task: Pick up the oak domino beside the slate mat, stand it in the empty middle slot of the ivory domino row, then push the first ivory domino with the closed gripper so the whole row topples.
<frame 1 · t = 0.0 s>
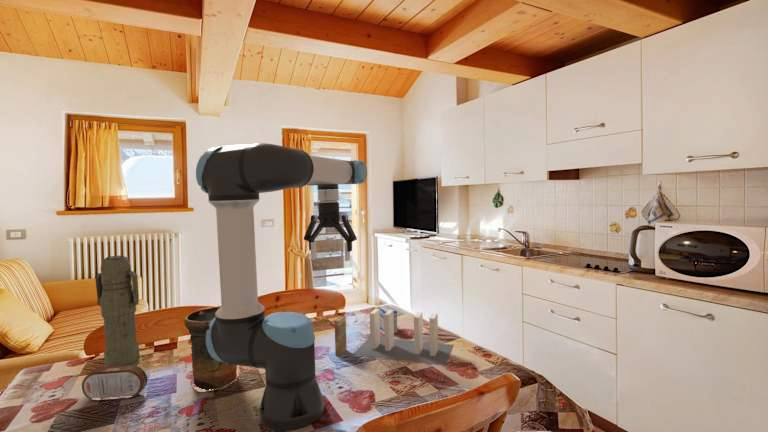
hand: (330, 259, 145), 28 cm above the table, fingers open, 13 cm apart
vessel: (216, 381, 113), on the table
mat: (404, 350, 130), on the table
medicine box: (387, 331, 149), on the table
tin: (115, 399, 105), on the table
domino 5: (434, 352, 127), resting on mat
domino 4: (418, 351, 129), resting on mat
stone statue: (123, 369, 122), on the table
domino 2: (389, 347, 132), resting on mat
oak domino: (341, 354, 129), on the table
domino 1: (375, 346, 133), resting on mat
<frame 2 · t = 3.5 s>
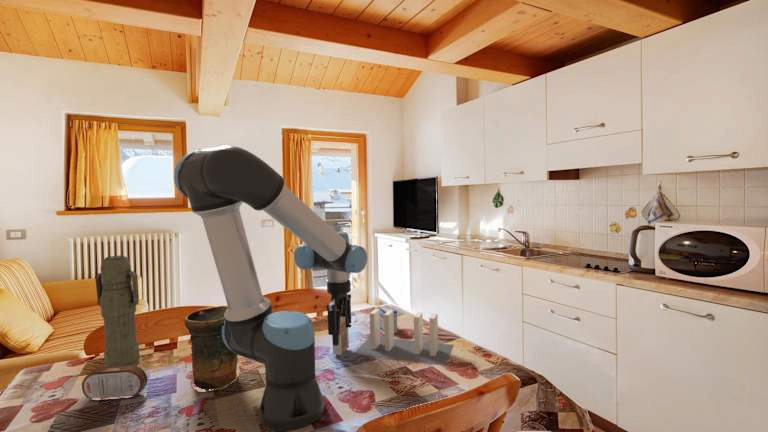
hand: (341, 350, 129), 1 cm above the table, fingers closed on oak domino, 5 cm apart
oak domino: (341, 354, 129), on the table, touching gripper
everything else where it was.
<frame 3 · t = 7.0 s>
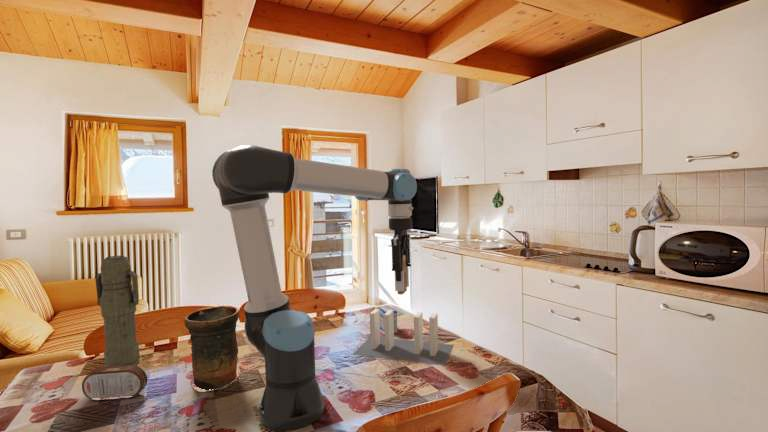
hand: (402, 288, 129), 21 cm above the table, fingers closed on oak domino, 5 cm apart
oak domino: (402, 292, 129), point 20 cm above the table, touching gripper
everything else where it was.
when the fingers open (3 cm above the table, at t = 10.7 s): oak domino stays where it is, resting on mat.
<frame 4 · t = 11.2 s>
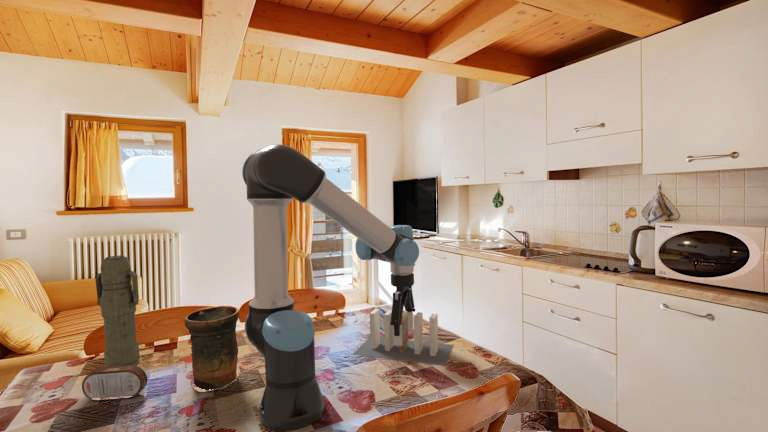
hand: (403, 337, 130), 4 cm above the table, fingers open, 12 cm apart
oak domino: (404, 349, 130), resting on mat
everything else where it was.
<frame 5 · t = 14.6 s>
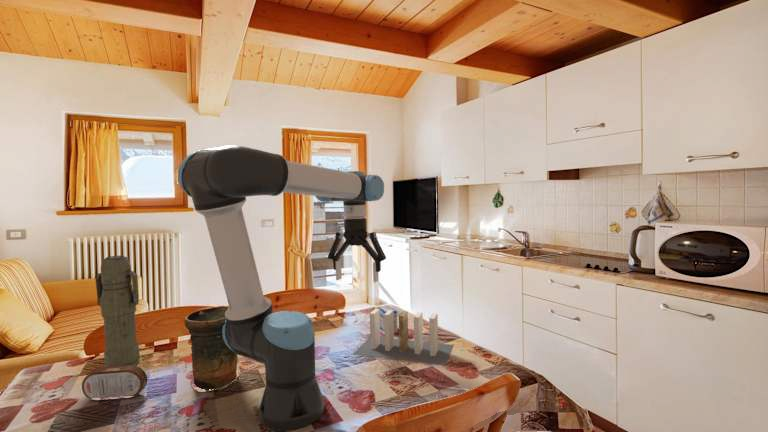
hand: (357, 280, 134), 23 cm above the table, fingers open, 13 cm apart
nothing on the table moved.
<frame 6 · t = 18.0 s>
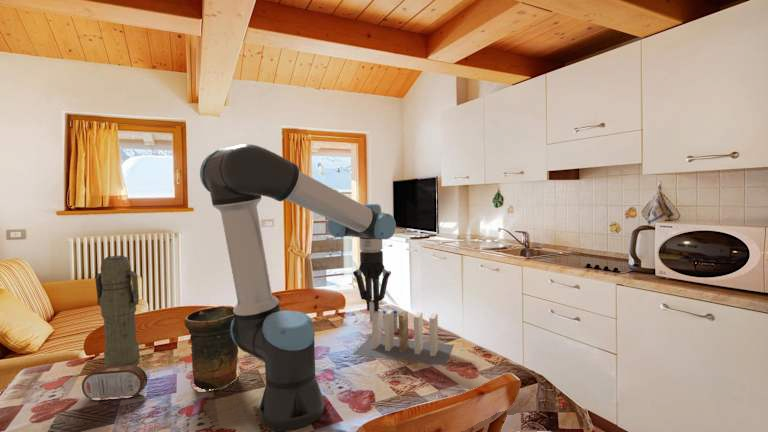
hand: (373, 320, 133), 9 cm above the table, fingers closed
domino 1: (375, 346, 133), point 1 cm above the table, tilted 7°, touching mat
everything else where it was.
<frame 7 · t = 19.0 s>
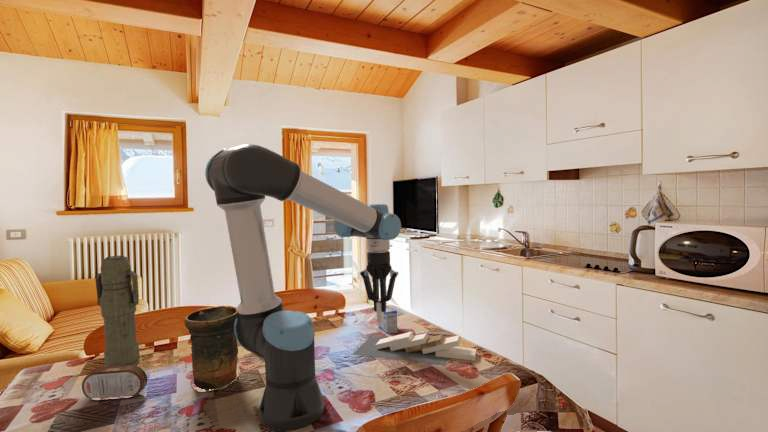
hand: (380, 320, 132), 9 cm above the table, fingers closed
domino 5: (437, 350, 126), point 1 cm above the table, tilted 90°, touching domino 4, mat
domino 4: (424, 348, 128), point 1 cm above the table, tilted 71°, touching domino 5, oak domino
domino 2: (392, 345, 131), point 1 cm above the table, tilted 71°, touching domino 1, mat, oak domino
oak domino: (408, 347, 130), point 1 cm above the table, tilted 71°, touching domino 2, domino 4, mat
domino 1: (378, 344, 133), point 1 cm above the table, tilted 71°, touching domino 2
everything else where it was.
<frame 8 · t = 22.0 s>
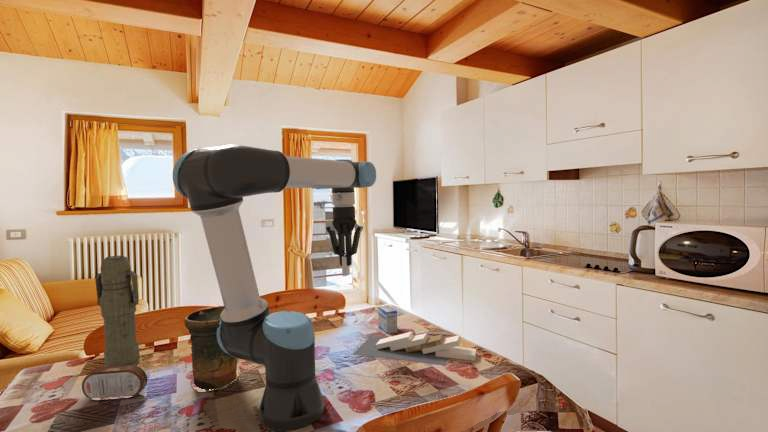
hand: (346, 274, 135), 24 cm above the table, fingers closed
nothing on the table moved.
at the end: domino 5 tilted 90°; oak domino tilted 71° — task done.
